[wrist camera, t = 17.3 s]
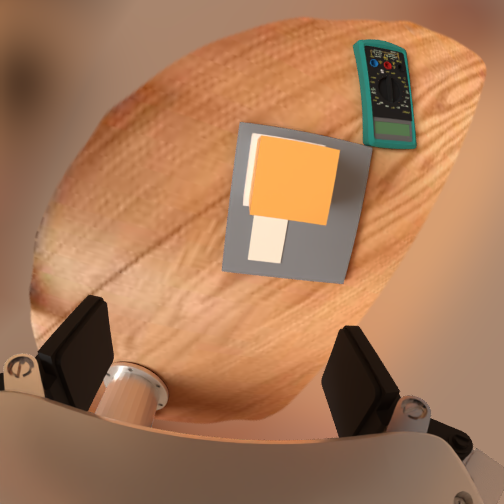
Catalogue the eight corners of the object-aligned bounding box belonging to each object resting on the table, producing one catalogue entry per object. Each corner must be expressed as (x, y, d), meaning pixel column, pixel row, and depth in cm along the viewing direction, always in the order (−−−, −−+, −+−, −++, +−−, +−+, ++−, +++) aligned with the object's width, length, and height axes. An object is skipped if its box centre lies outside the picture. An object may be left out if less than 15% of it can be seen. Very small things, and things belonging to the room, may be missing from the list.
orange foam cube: (309, 210, 27) (326, 225, 22) (248, 201, 27) (249, 214, 21) (319, 149, 25) (340, 150, 20) (257, 139, 25) (261, 135, 19)
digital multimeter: (397, 50, 27) (407, 44, 24) (408, 149, 32) (419, 150, 29) (350, 41, 27) (358, 34, 24) (361, 147, 32) (370, 147, 29)
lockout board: (339, 279, 38) (357, 304, 31) (222, 266, 37) (218, 291, 30) (367, 147, 32) (394, 148, 25) (240, 123, 31) (238, 115, 24)
